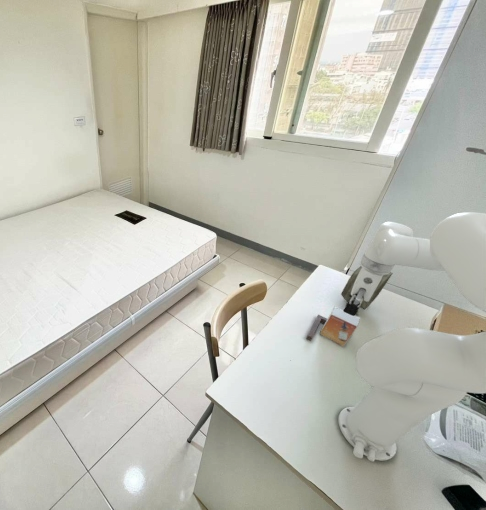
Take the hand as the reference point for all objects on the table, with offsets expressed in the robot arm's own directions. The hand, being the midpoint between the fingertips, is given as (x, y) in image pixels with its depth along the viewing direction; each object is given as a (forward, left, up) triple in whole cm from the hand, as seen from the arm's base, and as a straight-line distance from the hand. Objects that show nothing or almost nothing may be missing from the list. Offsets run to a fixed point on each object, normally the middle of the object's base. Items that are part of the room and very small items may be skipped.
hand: (351, 305), depth 89 cm
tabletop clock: (+24, -2, -16) cm, 29 cm away
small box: (+1, 0, -16) cm, 16 cm away
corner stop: (-1, +1, -16) cm, 16 cm away
